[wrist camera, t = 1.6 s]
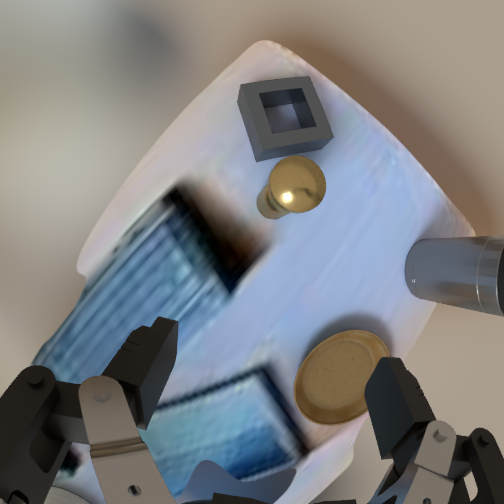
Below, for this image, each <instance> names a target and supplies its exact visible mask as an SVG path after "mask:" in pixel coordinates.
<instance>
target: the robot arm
mask: <svg viewBox="0 0 504 504" xmlns="http://www.w3.org/2000/svg"><path fill="white" fill-rule="evenodd" d="M405 278H406V282H407V286H408V288H409V290H410V291H411V293H412V294H413V295H414V296H416V297H418V298H420V299H424V300H429V301H433V302H437V303H442V304H447V305H451V306H456V307H461V308H465V309H470V310H474V311H479V312H484V313H489V314H493V315H498V316H503V317H504V235H499V236H480V237H459V238H436V239H423V240H420V241H418V242H417V243H416V244H415V245H414V246H413V247H412V248H411V250H410V252H409V254H408V257H407V259H406V265H405ZM177 340H178V321H175V320H171V319H167V318H163V317H160V316H159V317H157V319H156V320H155V322H154V323H153V325H152V326H151V328H150V327H146V326H141V327H139V328H137V329H136V330H134V331H132V333H131V334H130V335H129V337H128V338H127V339H126V342H124V343H123V345H122V346H121V349H119V350H118V352H117V353H116V355H115V356H114V357H113V359H112V360H111V362H110V363H109V364H108V366H107V367H106V369H105V370H104V372H103V373H102V374H101V376H93V377H90V378H88V379H86V380H85V381H83V383H82V384H74V383H67V382H61V381H56V379H55V376H54V374H53V372H52V371H51V370H49V369H48V368H46V367H44V366H37V365H36V366H30V367H27V368H26V369H24V370H22V371H21V372H20V374H19V375H18V376H17V377H16V379H15V380H14V381H13V382H12V383H11V385H10V386H9V387H8V389H7V390H6V391H5V392H4V394H3V395H2V396H1V398H0V504H44V502H45V499H46V497H47V495H48V493H49V490H50V488H51V486H52V483H53V481H54V479H55V477H56V475H57V472H58V470H59V468H60V466H61V464H62V462H63V460H64V458H65V456H66V454H67V451H68V449H69V447H70V445H71V443H72V442H76V443H82V444H88V445H90V448H91V450H90V455H91V459H92V463H93V466H94V469H95V472H96V475H97V478H98V481H99V484H100V487H101V490H102V492H103V495H104V498H105V500H106V503H107V504H176V502H175V500H174V499H173V497H172V495H171V493H170V491H169V489H168V488H167V486H166V484H165V482H164V480H163V478H162V476H161V474H160V472H159V470H158V468H157V466H156V464H155V462H154V460H153V458H152V456H151V453H150V451H149V449H148V447H147V445H146V443H145V442H144V441H142V439H141V437H140V435H139V432H138V430H137V428H140V429H143V430H146V429H147V426H148V424H149V422H150V419H151V417H152V415H153V412H154V410H155V408H156V406H157V403H158V401H159V399H160V396H161V394H162V392H163V390H164V387H165V385H166V383H167V381H168V378H169V376H170V374H171V372H172V369H173V367H174V364H175V360H176V355H177ZM364 397H365V401H366V404H367V408H368V411H369V415H370V418H371V421H372V425H373V429H374V433H375V436H376V440H377V444H378V447H379V451H380V455H381V459H391V458H393V461H394V462H393V463H392V464H391V465H390V467H389V469H388V470H387V472H386V474H385V476H384V478H383V480H382V482H381V483H380V485H379V487H378V489H377V490H376V492H375V494H374V495H373V497H372V498H371V500H370V501H369V502H368V503H367V504H504V458H503V456H502V454H501V451H500V449H499V447H498V445H497V443H496V440H495V438H494V436H493V435H492V434H491V433H490V432H489V431H488V430H486V429H484V428H476V429H475V430H474V431H473V432H472V433H471V434H470V435H469V436H468V437H467V436H461V435H456V433H455V431H454V429H453V428H452V427H451V426H450V425H448V424H447V423H446V422H443V421H438V420H436V418H435V416H434V414H433V412H432V409H431V407H430V406H429V403H428V401H427V399H426V397H425V396H424V393H423V391H422V389H420V385H419V383H418V381H417V379H416V378H415V377H414V376H413V375H412V374H411V373H410V372H409V371H408V370H406V368H405V366H404V364H403V362H402V360H401V359H400V358H395V357H382V358H381V359H380V360H379V362H378V364H377V366H376V367H375V369H374V371H373V373H372V375H371V376H370V378H369V380H368V382H367V384H366V386H365V391H364ZM471 471H472V473H473V476H474V478H475V482H476V484H477V488H478V493H477V495H476V497H475V498H474V499H473V500H472V501H471V502H470V498H469V495H468V491H467V488H466V485H465V482H464V477H466V476H467V475H468V474H469V473H470V472H471ZM183 504H268V503H265V502H261V501H258V500H255V499H252V498H245V497H238V496H231V495H225V494H219V493H214V494H213V497H212V500H197V501H191V502H186V503H183ZM315 504H356V500H355V499H354V500H341V501H323V502H319V503H315Z"/></svg>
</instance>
